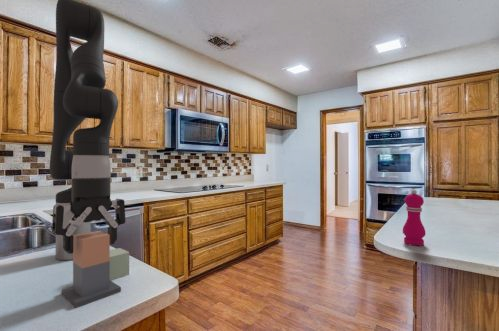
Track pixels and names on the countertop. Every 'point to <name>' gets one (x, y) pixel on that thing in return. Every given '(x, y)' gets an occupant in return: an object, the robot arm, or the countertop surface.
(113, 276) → the brick sage
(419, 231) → the pepper mill
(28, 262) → the countertop surface
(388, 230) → the countertop surface
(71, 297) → the tower base
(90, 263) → the brick terracotta
